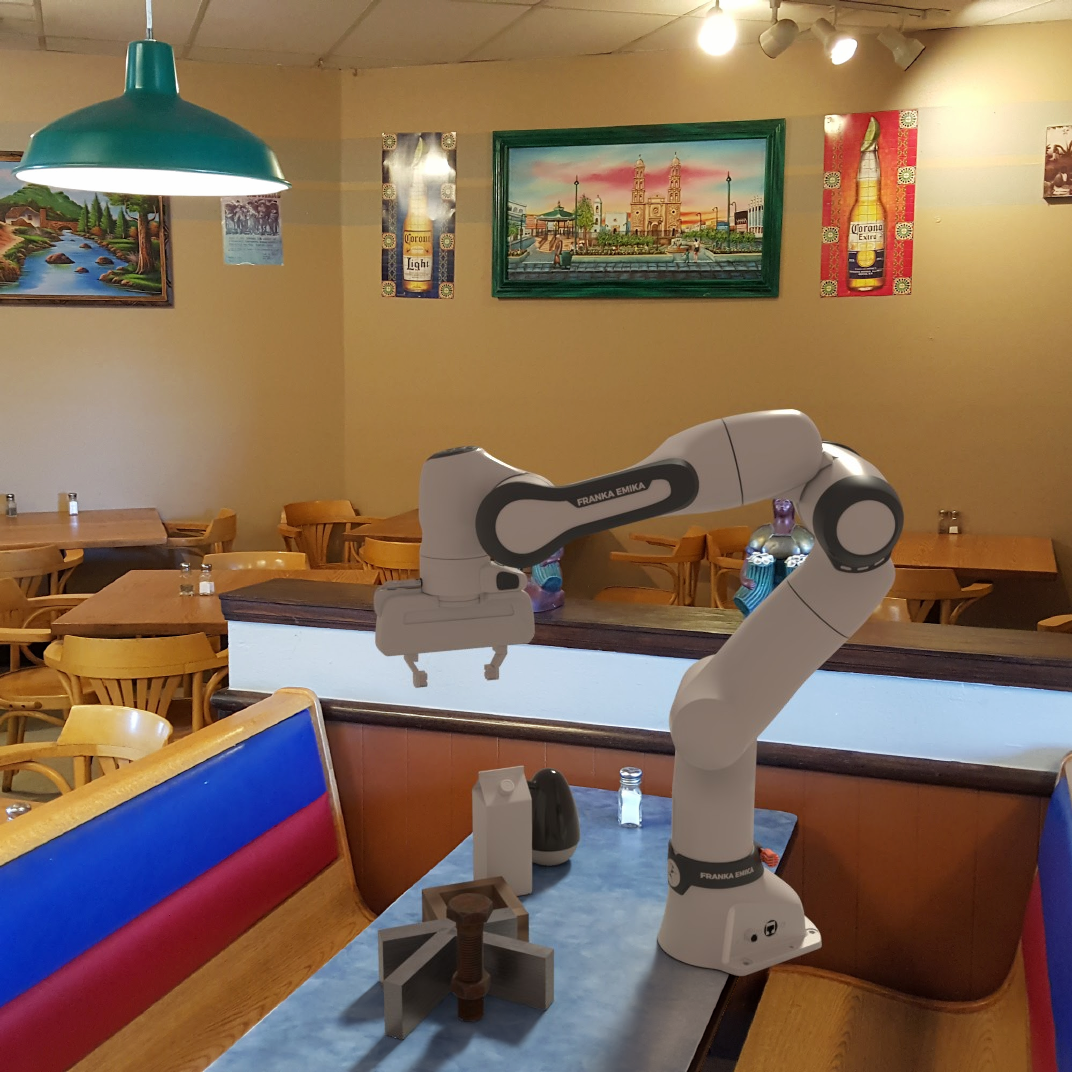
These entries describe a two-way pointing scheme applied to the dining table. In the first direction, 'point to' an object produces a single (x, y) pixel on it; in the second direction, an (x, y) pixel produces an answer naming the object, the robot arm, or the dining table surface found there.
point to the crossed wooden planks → (431, 960)
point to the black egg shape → (553, 818)
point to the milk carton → (503, 828)
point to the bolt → (470, 953)
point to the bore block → (492, 888)
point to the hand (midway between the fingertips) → (456, 682)
